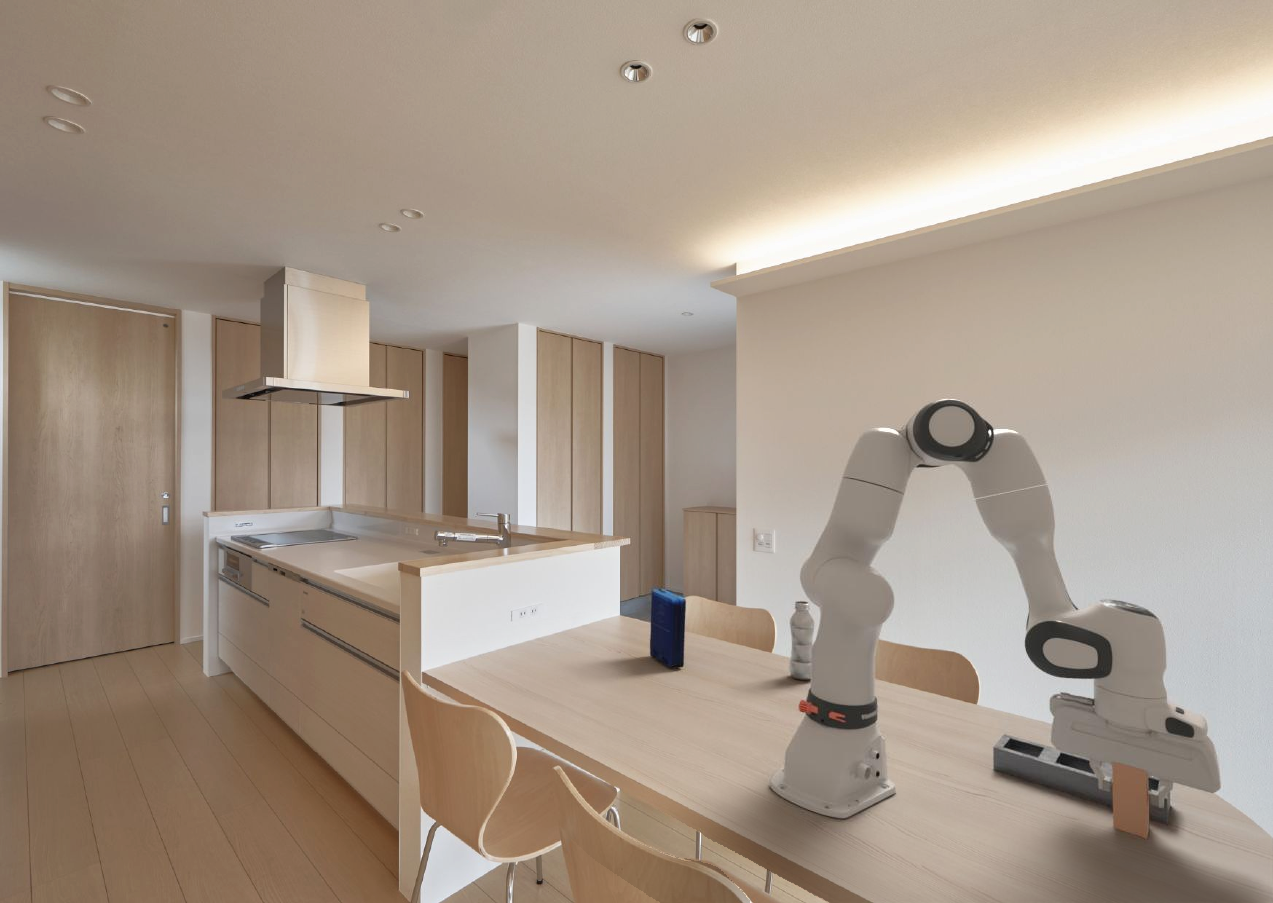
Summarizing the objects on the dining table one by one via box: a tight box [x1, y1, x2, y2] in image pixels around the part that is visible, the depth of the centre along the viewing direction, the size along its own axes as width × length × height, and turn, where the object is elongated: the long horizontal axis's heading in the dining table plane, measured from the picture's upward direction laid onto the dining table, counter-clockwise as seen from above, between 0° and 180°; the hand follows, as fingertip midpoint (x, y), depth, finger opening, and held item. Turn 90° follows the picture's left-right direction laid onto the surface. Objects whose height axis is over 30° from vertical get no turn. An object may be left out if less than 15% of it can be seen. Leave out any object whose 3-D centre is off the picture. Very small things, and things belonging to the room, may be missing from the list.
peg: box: [1112, 761, 1150, 839], centre depth 92 cm, size 4×4×10 cm
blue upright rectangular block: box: [649, 588, 687, 669], centre depth 168 cm, size 14×5×20 cm, turn 25°
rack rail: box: [992, 733, 1171, 826], centre depth 104 cm, size 8×24×4 cm, turn 46°
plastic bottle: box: [788, 600, 815, 681], centre depth 157 cm, size 6×7×20 cm
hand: (1130, 797), depth 92 cm, fingers open, 5 cm apart
